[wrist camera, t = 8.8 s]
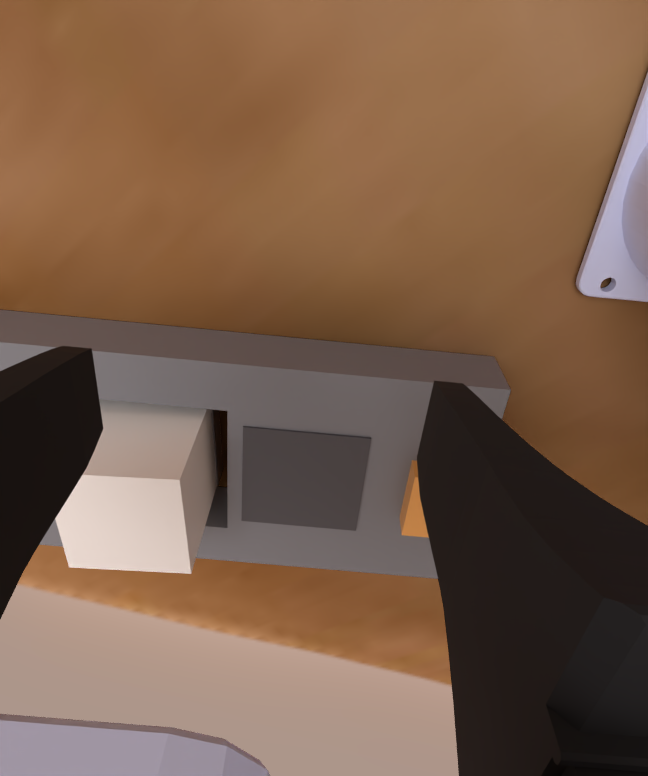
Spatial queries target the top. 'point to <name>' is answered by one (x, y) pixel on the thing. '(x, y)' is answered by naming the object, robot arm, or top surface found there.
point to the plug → (144, 489)
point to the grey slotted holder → (285, 431)
